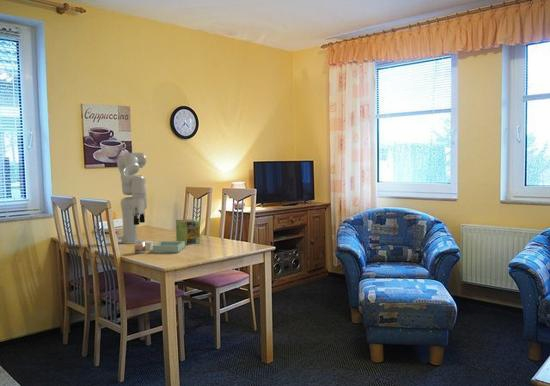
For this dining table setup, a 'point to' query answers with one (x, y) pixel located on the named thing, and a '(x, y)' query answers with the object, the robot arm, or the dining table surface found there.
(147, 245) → the grey block
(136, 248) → the clear brown jar
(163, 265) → the dining table surface
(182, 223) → the protein box
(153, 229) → the dining table surface
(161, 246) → the tote
